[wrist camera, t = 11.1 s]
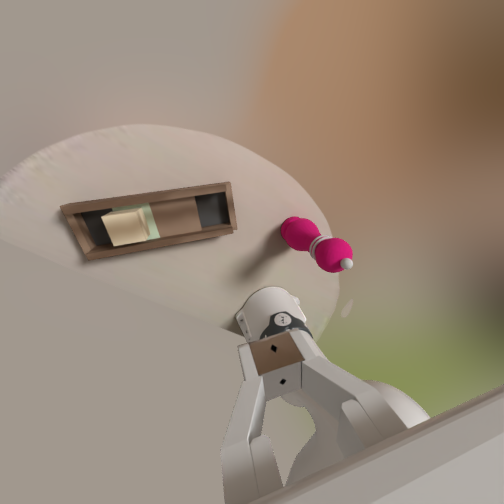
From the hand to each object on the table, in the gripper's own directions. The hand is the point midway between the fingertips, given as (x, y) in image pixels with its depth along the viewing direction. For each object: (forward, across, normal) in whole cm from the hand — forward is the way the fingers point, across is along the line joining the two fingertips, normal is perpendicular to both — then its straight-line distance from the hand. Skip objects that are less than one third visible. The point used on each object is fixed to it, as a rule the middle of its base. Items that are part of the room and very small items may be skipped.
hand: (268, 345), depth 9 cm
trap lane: (+35, +10, 0) cm, 36 cm away
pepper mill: (+35, -18, +8) cm, 40 cm away
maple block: (+33, +15, 0) cm, 36 cm away
